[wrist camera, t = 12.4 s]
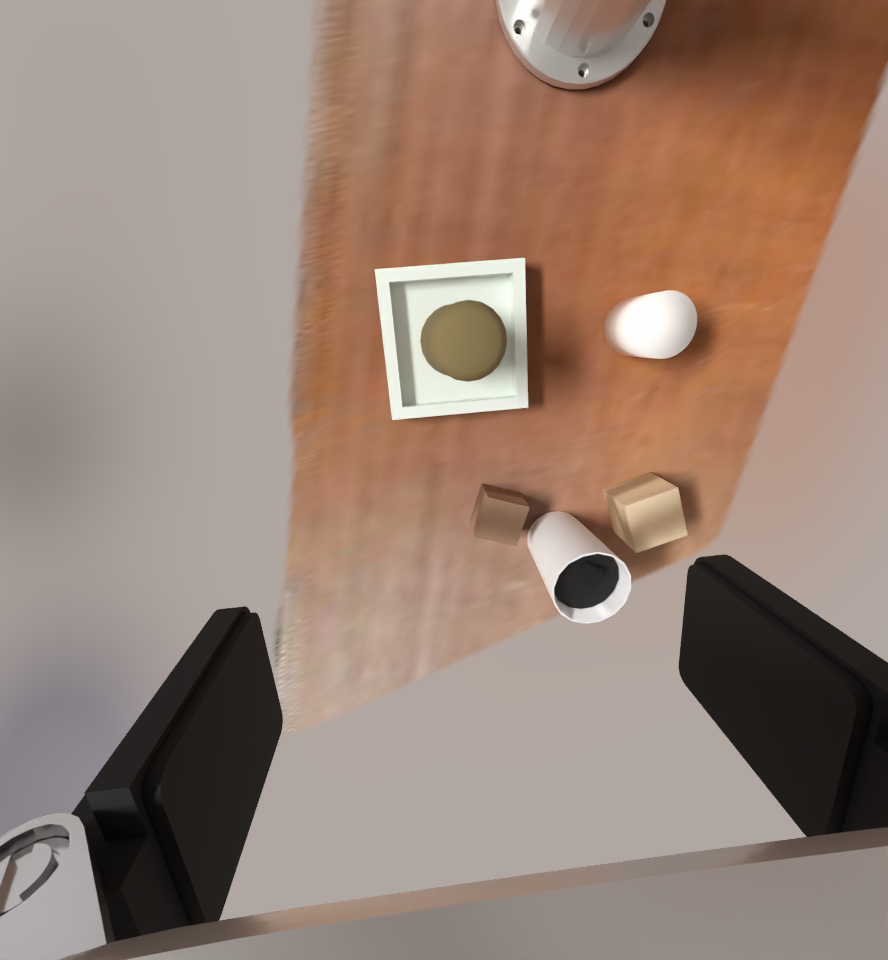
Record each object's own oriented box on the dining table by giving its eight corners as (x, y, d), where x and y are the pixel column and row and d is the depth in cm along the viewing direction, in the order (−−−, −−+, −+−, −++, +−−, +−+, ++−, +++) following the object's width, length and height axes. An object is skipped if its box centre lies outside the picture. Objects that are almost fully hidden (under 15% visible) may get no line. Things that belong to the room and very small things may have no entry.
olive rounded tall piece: (499, 317, 39) (532, 309, 28) (476, 385, 40) (499, 402, 30) (432, 293, 38) (440, 275, 27) (411, 363, 39) (411, 373, 29)
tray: (377, 273, 38) (374, 269, 35) (518, 262, 38) (524, 257, 36) (393, 415, 41) (392, 419, 39) (522, 403, 42) (528, 407, 40)
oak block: (602, 488, 45) (624, 506, 40) (649, 471, 45) (678, 487, 40) (613, 531, 47) (635, 553, 42) (659, 515, 46) (687, 535, 42)
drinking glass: (542, 496, 45) (578, 539, 35) (598, 521, 46) (647, 569, 37) (511, 552, 46) (537, 607, 37) (566, 574, 48) (604, 634, 38)
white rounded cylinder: (603, 299, 40) (635, 293, 34) (658, 295, 40) (700, 287, 34) (601, 358, 41) (632, 361, 35) (655, 353, 41) (694, 356, 36)
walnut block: (481, 483, 44) (488, 497, 40) (519, 492, 45) (529, 507, 41) (470, 520, 45) (475, 537, 41) (507, 528, 46) (516, 546, 42)
